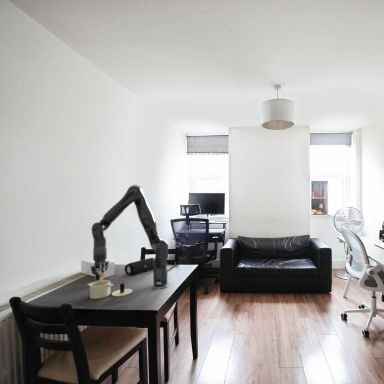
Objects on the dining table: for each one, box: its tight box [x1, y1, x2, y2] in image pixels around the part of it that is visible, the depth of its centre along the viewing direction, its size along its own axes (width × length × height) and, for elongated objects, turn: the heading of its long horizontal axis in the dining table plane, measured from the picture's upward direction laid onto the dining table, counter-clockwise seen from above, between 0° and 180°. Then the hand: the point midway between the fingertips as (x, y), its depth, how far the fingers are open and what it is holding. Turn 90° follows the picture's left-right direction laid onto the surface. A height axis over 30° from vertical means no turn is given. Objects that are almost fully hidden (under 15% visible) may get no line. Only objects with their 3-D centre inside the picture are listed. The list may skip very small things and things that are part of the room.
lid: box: [111, 281, 133, 297], centre depth 175 cm, size 12×12×7 cm
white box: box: [80, 257, 115, 278], centre depth 221 cm, size 32×11×11 cm, turn 58°
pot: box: [87, 279, 114, 300], centre depth 172 cm, size 11×17×8 cm
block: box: [94, 272, 106, 281], centre depth 172 cm, size 4×4×4 cm
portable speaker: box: [124, 257, 155, 276], centre depth 224 cm, size 26×10×10 cm, turn 148°
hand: (100, 278), depth 172 cm, fingers closed on block, 4 cm apart
